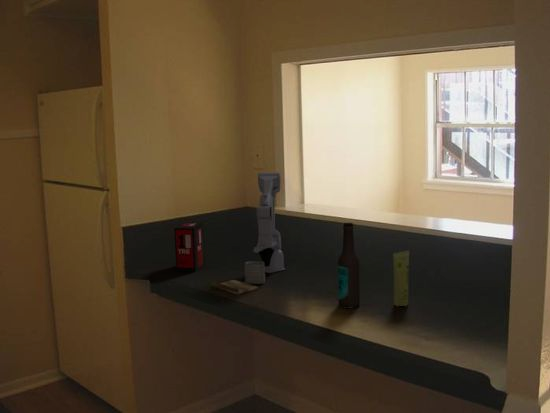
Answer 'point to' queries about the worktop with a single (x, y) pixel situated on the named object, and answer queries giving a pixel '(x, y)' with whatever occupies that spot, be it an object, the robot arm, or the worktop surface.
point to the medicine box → (255, 272)
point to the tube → (401, 278)
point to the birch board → (234, 286)
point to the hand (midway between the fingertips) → (266, 266)
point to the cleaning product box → (189, 246)
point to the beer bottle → (348, 271)
